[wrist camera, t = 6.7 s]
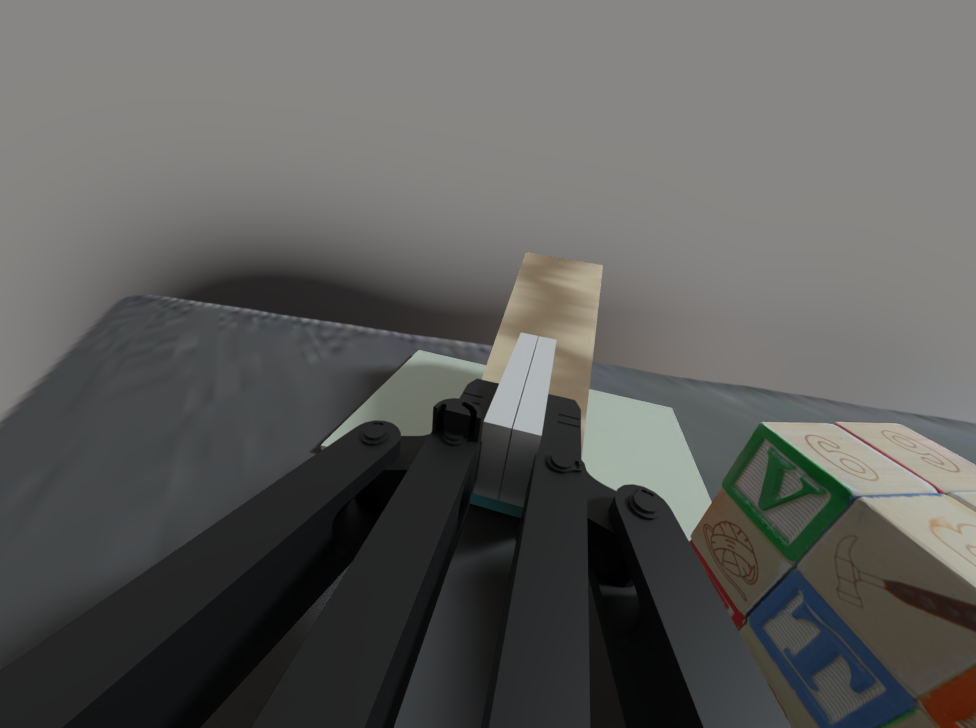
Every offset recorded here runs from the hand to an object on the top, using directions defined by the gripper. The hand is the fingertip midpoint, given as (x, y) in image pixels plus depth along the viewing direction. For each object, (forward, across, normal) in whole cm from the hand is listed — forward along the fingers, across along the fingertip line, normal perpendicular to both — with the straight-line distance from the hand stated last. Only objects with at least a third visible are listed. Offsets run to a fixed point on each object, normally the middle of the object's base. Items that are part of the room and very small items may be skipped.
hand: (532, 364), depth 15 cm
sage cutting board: (+6, 0, -8) cm, 10 cm away
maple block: (-3, 0, -6) cm, 6 cm away
